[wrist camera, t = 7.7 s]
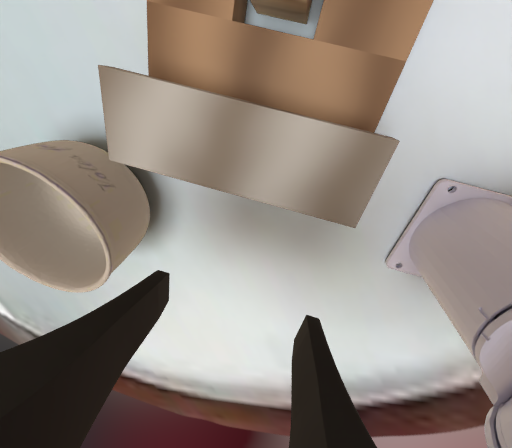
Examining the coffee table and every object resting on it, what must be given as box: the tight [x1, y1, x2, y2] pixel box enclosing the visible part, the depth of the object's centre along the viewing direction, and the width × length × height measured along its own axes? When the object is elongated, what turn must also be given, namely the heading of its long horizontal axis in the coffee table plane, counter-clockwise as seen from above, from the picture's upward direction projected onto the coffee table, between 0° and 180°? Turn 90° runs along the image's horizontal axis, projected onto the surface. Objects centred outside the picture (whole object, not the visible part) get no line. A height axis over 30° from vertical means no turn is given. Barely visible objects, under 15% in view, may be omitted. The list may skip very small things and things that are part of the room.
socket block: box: [98, 0, 433, 228], centre depth 12 cm, size 14×13×6 cm
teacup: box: [0, 140, 150, 292], centre depth 19 cm, size 14×11×8 cm
